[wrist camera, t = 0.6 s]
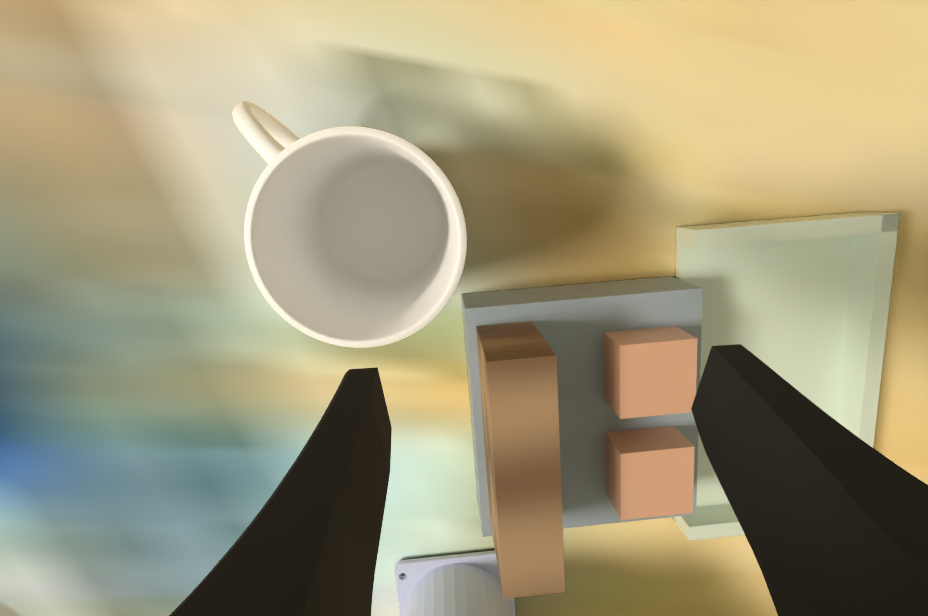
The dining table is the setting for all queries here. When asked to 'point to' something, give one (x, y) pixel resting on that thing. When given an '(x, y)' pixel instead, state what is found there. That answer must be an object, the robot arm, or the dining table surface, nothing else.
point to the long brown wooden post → (522, 457)
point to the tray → (793, 318)
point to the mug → (350, 231)
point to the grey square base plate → (583, 375)
